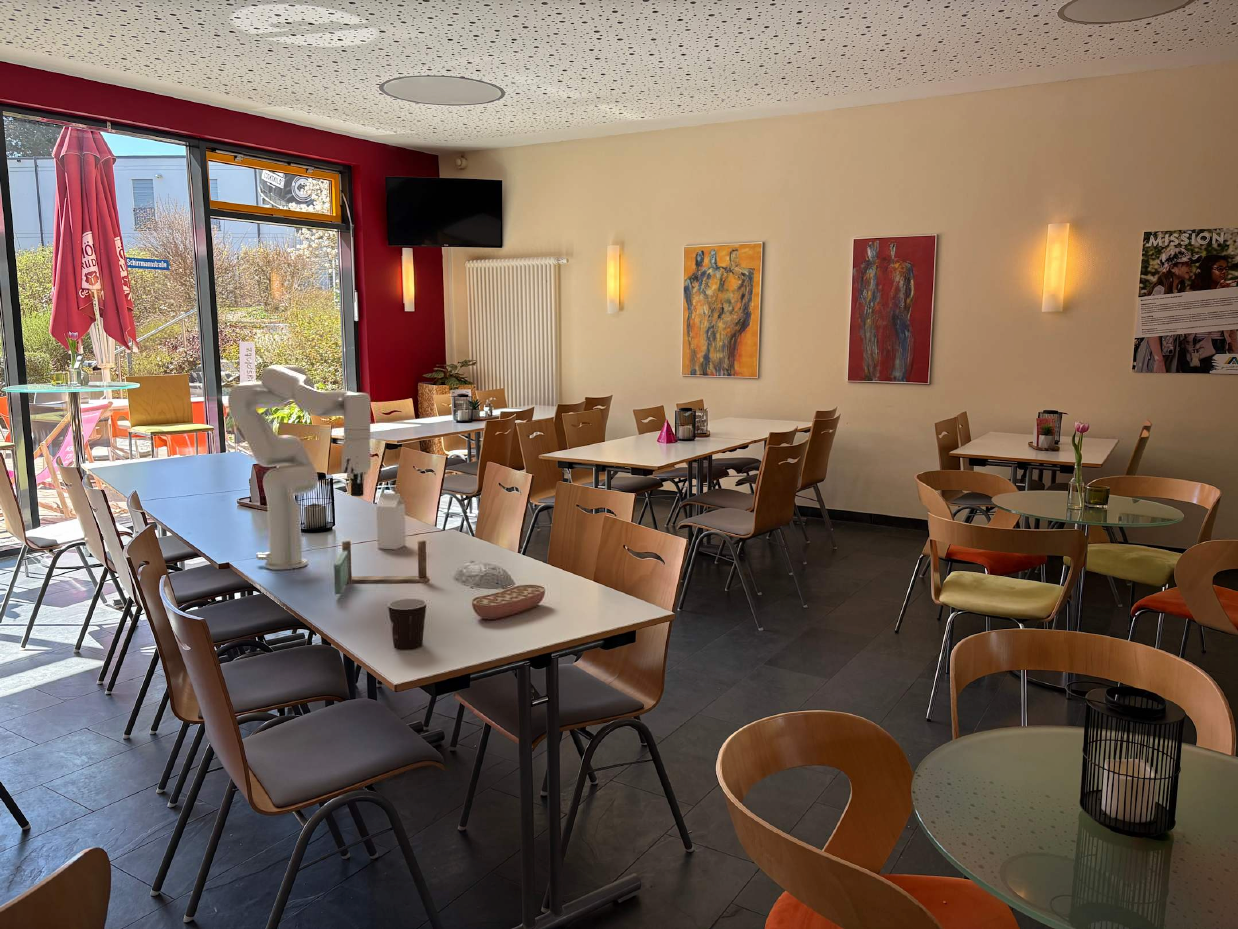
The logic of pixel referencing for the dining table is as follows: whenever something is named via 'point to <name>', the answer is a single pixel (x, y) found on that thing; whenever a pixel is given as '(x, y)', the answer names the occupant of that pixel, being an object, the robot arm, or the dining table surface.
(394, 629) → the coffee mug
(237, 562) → the dining table surface
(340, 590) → the gate leaf
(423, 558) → the gate frame
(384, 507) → the milk carton
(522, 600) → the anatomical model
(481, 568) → the grey rock
